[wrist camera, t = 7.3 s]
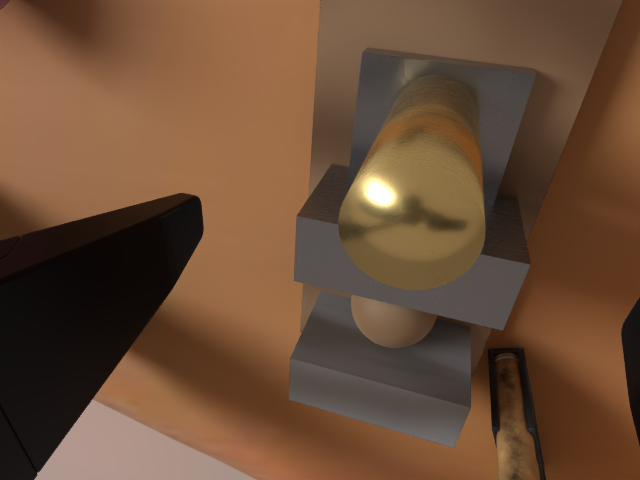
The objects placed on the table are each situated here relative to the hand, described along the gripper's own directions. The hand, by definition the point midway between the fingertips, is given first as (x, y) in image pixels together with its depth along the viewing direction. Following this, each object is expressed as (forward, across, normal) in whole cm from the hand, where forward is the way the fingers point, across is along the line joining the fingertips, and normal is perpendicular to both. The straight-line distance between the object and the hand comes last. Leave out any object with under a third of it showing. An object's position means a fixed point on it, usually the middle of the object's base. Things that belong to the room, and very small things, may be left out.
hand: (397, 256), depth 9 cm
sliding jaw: (+10, 0, +2) cm, 10 cm away
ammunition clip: (+12, -9, +18) cm, 23 cm away
